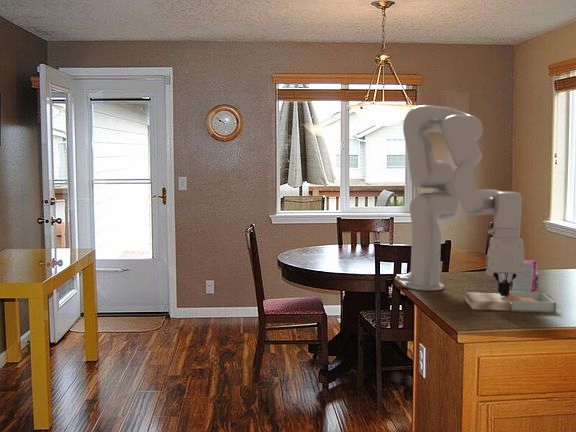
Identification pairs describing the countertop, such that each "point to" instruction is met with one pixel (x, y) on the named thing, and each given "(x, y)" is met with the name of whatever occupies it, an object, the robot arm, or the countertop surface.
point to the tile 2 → (526, 299)
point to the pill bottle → (536, 281)
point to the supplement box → (526, 278)
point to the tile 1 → (512, 297)
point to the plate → (487, 301)
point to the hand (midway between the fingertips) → (503, 295)
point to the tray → (532, 303)
